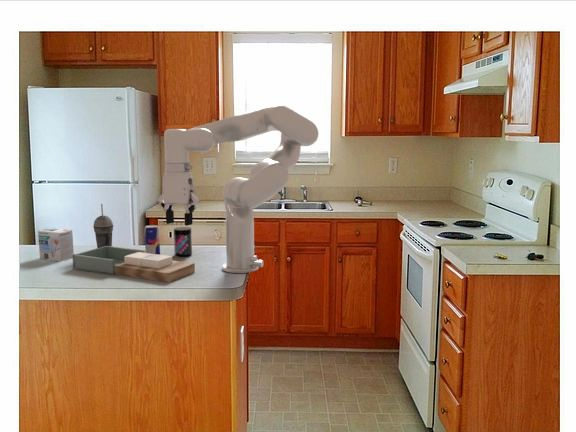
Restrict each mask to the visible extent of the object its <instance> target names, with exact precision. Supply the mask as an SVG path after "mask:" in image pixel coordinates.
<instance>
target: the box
mask: <svg viewBox="0 0 576 432" xmlns="http://www.w3.org/2000/svg"><path fill="white" fill-rule="evenodd" d="M137 252H142V253H145V250H144V249H135V248H128V247H118V246H113V245H112V246H104V247H100V248H97V247H96V248H93V249H90V250H86V251H82V252H78V253H74V255H72V256H73V258H72V267H73V270H78V271H83V272H84V271H85V272H91V273H98V274H104V275H111V276H114V275H116V274H115V265H118V264H122V263H125V261H124V256H127V255H130V254H134V253H137Z"/></svg>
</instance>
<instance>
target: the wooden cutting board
mask: <svg viewBox="0 0 576 432" xmlns="http://www.w3.org/2000/svg"><path fill="white" fill-rule="evenodd" d="M172 263H173V264H170V265H167V266H164V267H162V268H153V267H146V266H139V265H131V264H125V263H122V264H118V265H115V275H116V276H117V275H118V276H123V277H131V278H137V279H144V280H149V281H157V282H163V283H171V282H174V281H176V280H178V279H181V278H183V277H186V276H188V275H191V274H193V273H195V272H196V266H195V263H194V262H188V261H179V260H173V259H172Z"/></svg>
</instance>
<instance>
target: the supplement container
mask: <svg viewBox="0 0 576 432" xmlns="http://www.w3.org/2000/svg"><path fill="white" fill-rule="evenodd" d="M173 245H174V247H173V251H174V252H173V253H174V256H175V257H177V258H186V257H191V256H192V254H193V237H192V227H188V226H179V227H174V228H173Z"/></svg>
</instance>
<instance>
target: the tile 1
mask: <svg viewBox="0 0 576 432" xmlns="http://www.w3.org/2000/svg"><path fill="white" fill-rule="evenodd" d="M152 255H155V254H150V253H142V252H137V253H134V254H130V255H127V256H124V261H125V264H131V265H139V266H142V258H145V257H149V256H152Z"/></svg>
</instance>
